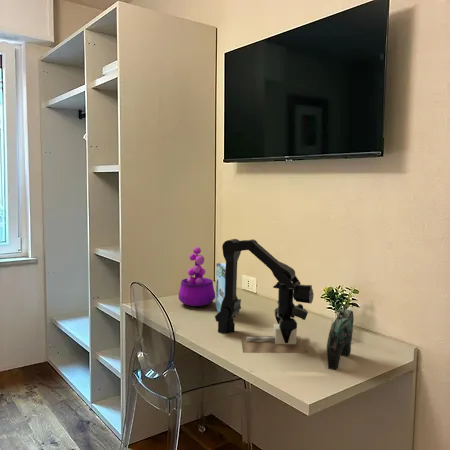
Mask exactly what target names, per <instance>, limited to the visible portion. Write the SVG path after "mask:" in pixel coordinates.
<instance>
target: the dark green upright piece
mask: <svg viewBox="0 0 450 450" xmlns="http://www.w3.org/2000/svg"><path fill="white" fill-rule="evenodd" d="M342 308H343V309H342ZM337 311H338V313H337V316H336V318H335V320H334V321H333V322H332V323H331V325H330V329H329V332H328V336H327V337H328V338H327V343H326V355H327V366H328V369H329V370H335V371H336V370H338V369H339V365H340V360H341V356H343V357H349V355H351V351H352V340H353V331H354V329H353V328H354V327H353V326H354V318H355V317H354V311H353V310H351V309H347V307H346V305H345V304H343V303H342V304H341V305H340V310H339V309H338V310H337Z"/></svg>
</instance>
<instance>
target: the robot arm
mask: <svg viewBox="0 0 450 450" xmlns="http://www.w3.org/2000/svg"><path fill="white" fill-rule="evenodd" d="M221 248H222V249H221V250H222V255H223V258H224V261H225V263H226V275H225V296H224V299H223V301H222V304H221V309H220V312H217V314H215V315H214V320H215V321H216V322H217V332H218V333H220V334H231V333H235V331H236V329H235V324H236V323H235V322H234V319H235V318H236V316H237V314H238V313H240V310H241V309H242V307H241V303H242V299H241V298H238V296H237V285H238V283H237V281H238V262H239V258H240V256H241V253H242V251H249V252H250V253H251V254H252V255H253V256H254V257H256V258H257V259H258V260H259V261H260V262H261V263H263V264H264V266H266V267H267V268H268V269H269V270H270V272H272V275H273V276H274V278H275V279H276V280H277V282H276V283H275V284H274V285H273V286H272V288H273V289H278V292H277V293H278V297H277V298H278V299H277V301H276V303H277V307H276V308H275V309H274V316H275V320H276V324H279V327H280V330H281V333H282V336H283V339H284V342H285V343H288V341H289V338H290V334H291V331H292V330H294V329H298V323H297V320H295V319H296V318H299V319H301V320H303V321H306V319H307V315H308V312H309V311H308V310H307V309H305V308H304V306H303V304H302V303H305V304H312V303H313V301H314V289H313V286H312V284H301V282H300V280H299V278H298V276H297V275H296V271H295V269H294V268H293V267H291V266H289V265H288V264H286V263H284V262H281V261H279V260H278V259H277V258H276V257H275V256H273V255H272V254H271V253H270V252H269V251H268V250H266V249H265V248H264V247H263V246H262V245H260V244H259V243H258V241H257V240H256V239H252V238H251V239H245V240H243V239H242V240H239V239H237V238H233V239H229V240H226V241H224V242H223V243H222V246H221ZM294 301H295V302H297V303H298V304H297V305H295V303H294ZM233 318H234V319H233Z"/></svg>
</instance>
